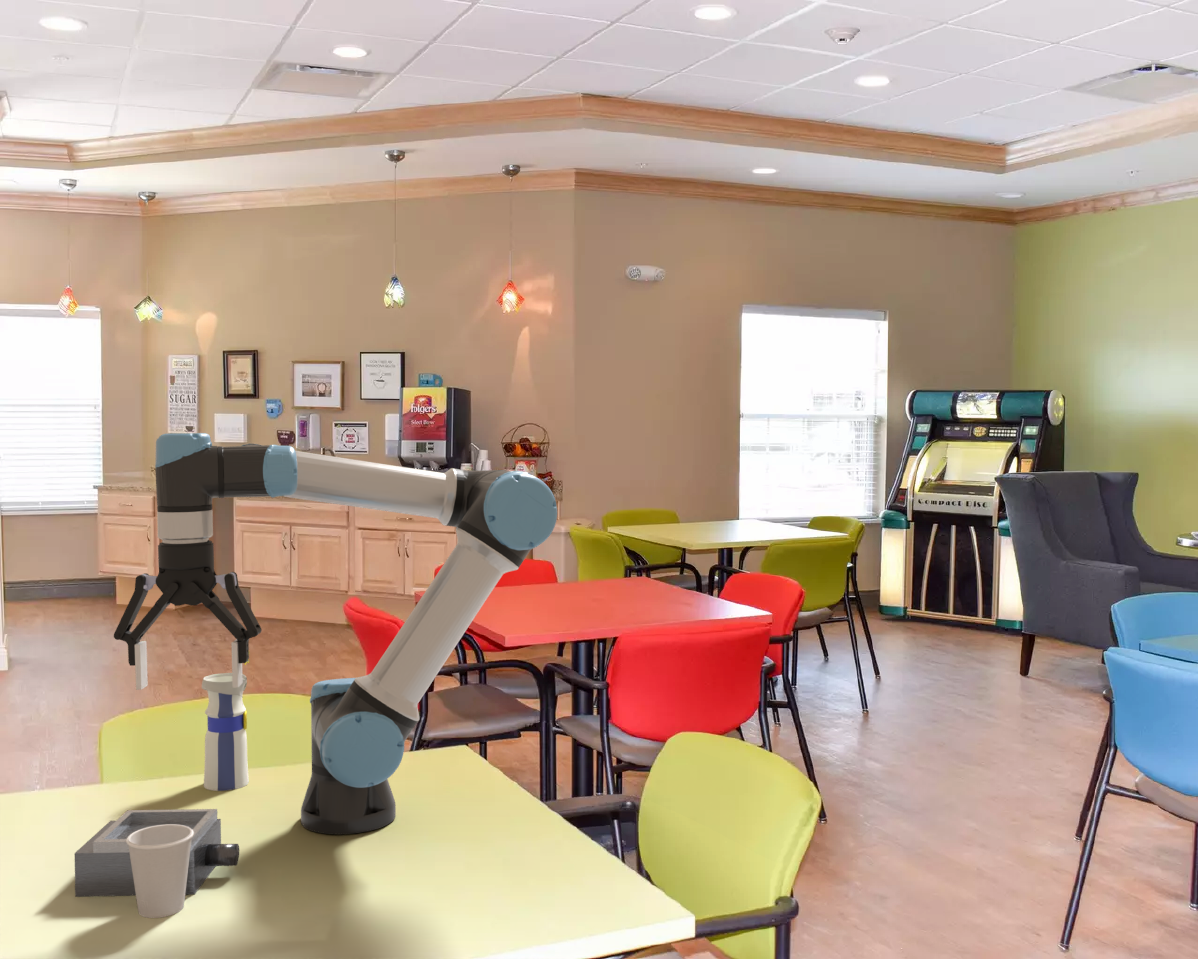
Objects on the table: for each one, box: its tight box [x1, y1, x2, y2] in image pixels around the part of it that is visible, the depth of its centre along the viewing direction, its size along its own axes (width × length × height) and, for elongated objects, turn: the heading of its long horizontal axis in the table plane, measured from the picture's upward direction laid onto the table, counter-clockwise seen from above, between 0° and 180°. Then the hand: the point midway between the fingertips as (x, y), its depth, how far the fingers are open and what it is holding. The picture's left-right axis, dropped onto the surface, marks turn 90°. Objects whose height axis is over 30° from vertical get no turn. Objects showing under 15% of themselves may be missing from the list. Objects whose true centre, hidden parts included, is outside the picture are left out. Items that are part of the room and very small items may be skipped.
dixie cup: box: [126, 824, 194, 919], centre depth 151 cm, size 8×8×10 cm
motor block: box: [74, 808, 240, 898], centre depth 162 cm, size 20×13×8 cm, turn 93°
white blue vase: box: [201, 650, 250, 792], centre depth 204 cm, size 8×9×25 cm
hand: (189, 686), depth 165 cm, fingers open, 13 cm apart
